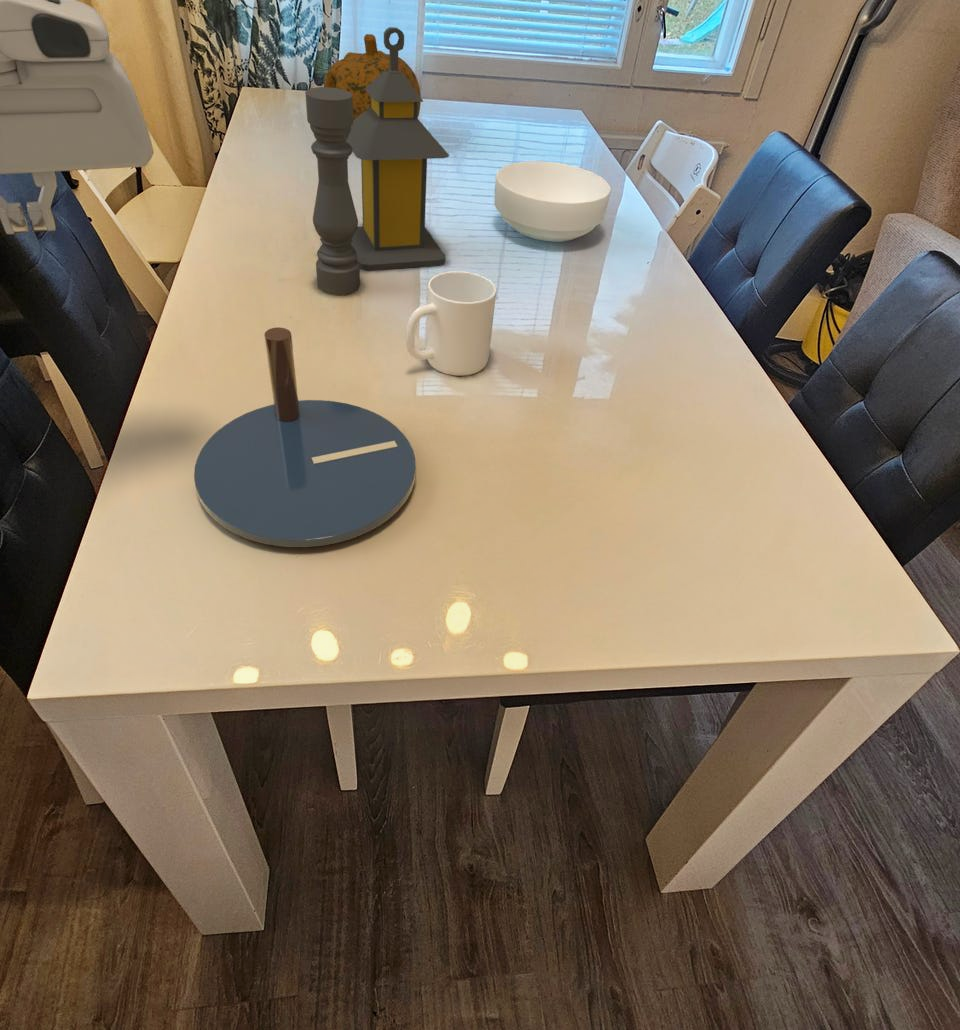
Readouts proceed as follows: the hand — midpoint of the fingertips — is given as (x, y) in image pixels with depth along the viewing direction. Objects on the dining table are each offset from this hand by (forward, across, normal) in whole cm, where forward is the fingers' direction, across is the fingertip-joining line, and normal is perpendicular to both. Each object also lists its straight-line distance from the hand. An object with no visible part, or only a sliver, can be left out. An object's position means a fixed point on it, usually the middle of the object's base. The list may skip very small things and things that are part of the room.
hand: (31, 229), depth 55 cm
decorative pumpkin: (+24, +59, +94) cm, 114 cm away
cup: (+24, +40, +8) cm, 47 cm away
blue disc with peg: (+24, +18, -8) cm, 31 cm away
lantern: (+24, +45, +42) cm, 66 cm away
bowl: (+24, +74, +43) cm, 89 cm away
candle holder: (+24, +33, +32) cm, 52 cm away
